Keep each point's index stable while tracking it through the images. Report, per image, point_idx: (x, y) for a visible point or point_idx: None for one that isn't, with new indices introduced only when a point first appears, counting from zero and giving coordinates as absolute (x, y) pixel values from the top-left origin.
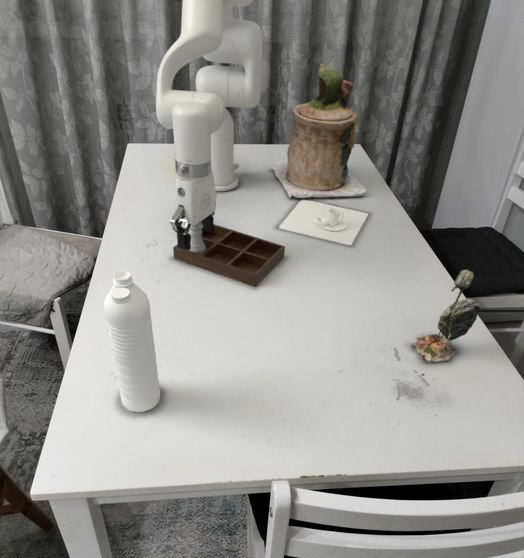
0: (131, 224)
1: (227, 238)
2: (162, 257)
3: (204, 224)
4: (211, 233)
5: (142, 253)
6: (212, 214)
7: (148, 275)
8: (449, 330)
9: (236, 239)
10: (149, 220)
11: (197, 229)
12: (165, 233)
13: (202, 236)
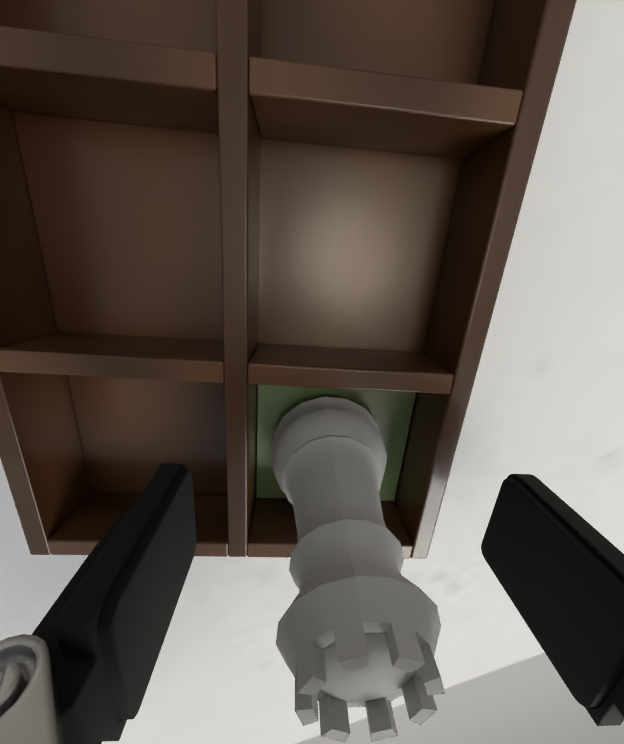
0: (242, 719)
1: (101, 347)
2: None
3: (174, 573)
4: (87, 475)
5: None
6: (16, 666)
7: None
8: None
9: (35, 300)
10: (174, 699)
11: (424, 593)
12: (224, 621)
13: None
